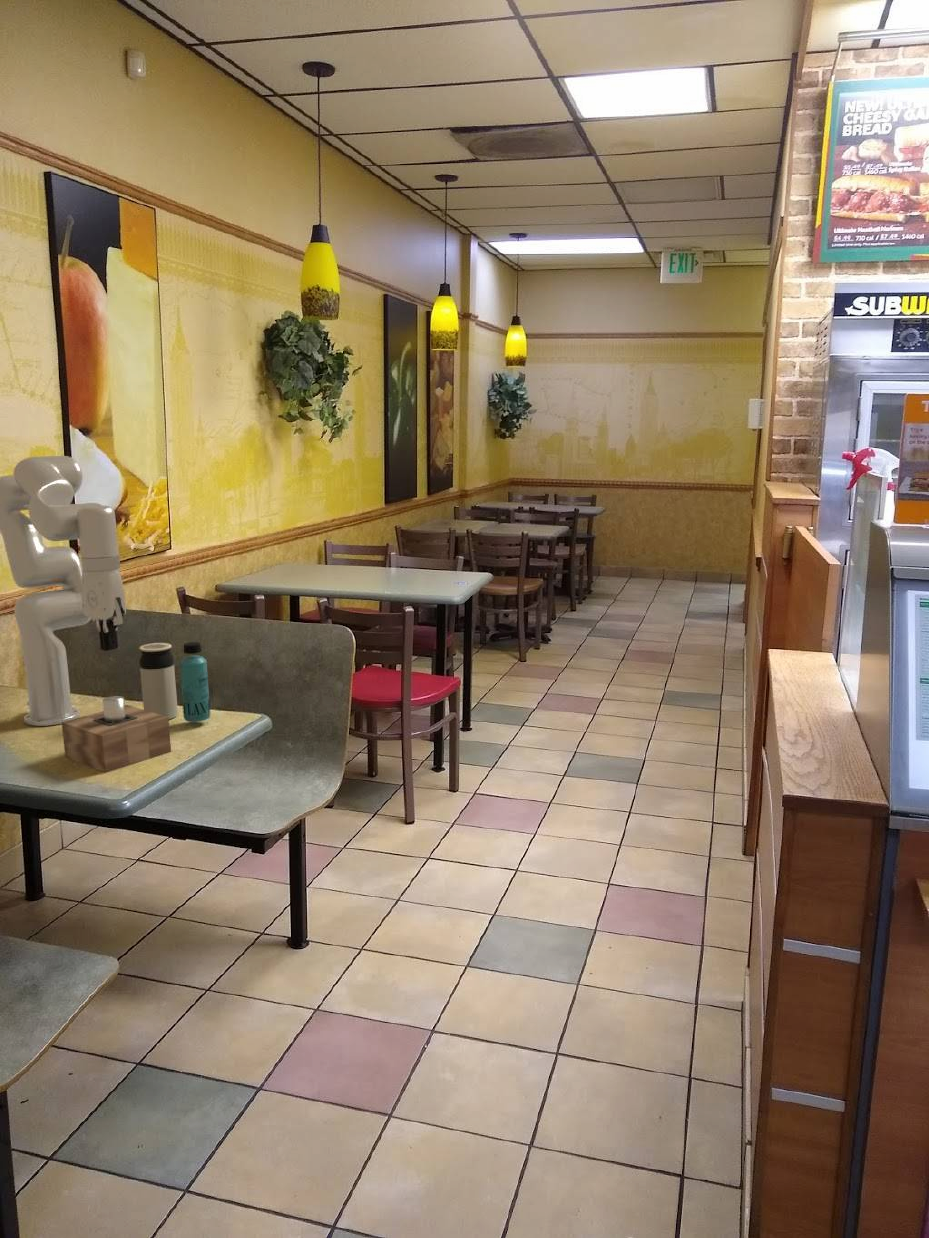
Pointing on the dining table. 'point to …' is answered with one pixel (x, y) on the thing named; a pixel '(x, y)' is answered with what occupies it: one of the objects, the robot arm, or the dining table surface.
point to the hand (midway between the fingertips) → (109, 649)
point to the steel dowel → (114, 709)
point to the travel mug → (158, 679)
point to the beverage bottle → (194, 684)
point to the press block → (116, 739)
